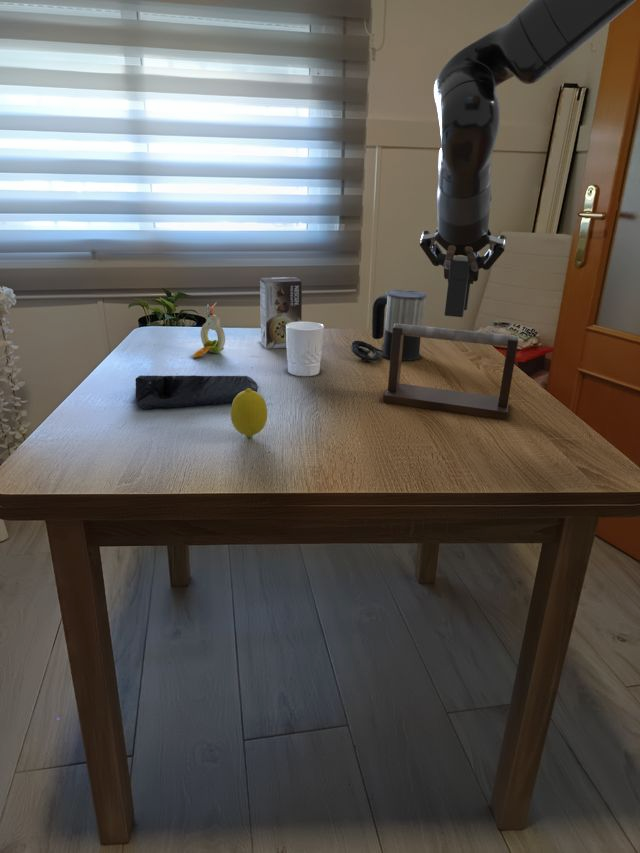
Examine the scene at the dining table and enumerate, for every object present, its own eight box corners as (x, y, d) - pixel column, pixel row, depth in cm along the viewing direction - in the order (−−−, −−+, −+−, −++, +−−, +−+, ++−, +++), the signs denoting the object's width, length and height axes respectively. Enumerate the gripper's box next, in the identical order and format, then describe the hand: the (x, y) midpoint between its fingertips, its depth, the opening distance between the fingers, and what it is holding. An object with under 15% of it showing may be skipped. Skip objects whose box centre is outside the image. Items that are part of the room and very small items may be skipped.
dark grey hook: (444, 315, 96) (450, 260, 93) (450, 307, 103) (456, 255, 100) (462, 317, 95) (469, 261, 92) (467, 309, 102) (473, 257, 99)
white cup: (288, 378, 118) (288, 330, 114) (282, 367, 125) (283, 321, 121) (325, 376, 119) (327, 329, 115) (318, 366, 126) (319, 321, 123)
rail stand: (508, 405, 107) (520, 331, 101) (506, 420, 100) (519, 341, 94) (392, 389, 113) (398, 319, 108) (382, 402, 106) (388, 327, 101)
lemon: (264, 429, 92) (264, 382, 89) (269, 443, 87) (269, 393, 84) (230, 431, 91) (228, 383, 88) (232, 445, 86) (231, 395, 83)
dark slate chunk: (260, 408, 101) (260, 383, 99) (130, 411, 97) (128, 385, 96) (255, 381, 115) (255, 358, 113) (142, 383, 111) (140, 359, 110)
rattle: (181, 352, 133) (178, 302, 129) (213, 347, 138) (211, 299, 134) (195, 359, 128) (193, 308, 123) (228, 354, 132) (227, 305, 128)
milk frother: (426, 355, 138) (433, 292, 132) (400, 370, 125) (406, 302, 120) (373, 346, 145) (377, 286, 139) (343, 359, 132) (346, 294, 126)
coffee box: (294, 341, 147) (296, 276, 140) (301, 347, 141) (303, 280, 135) (259, 342, 144) (259, 276, 138) (265, 349, 138) (265, 280, 132)
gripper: (410, 221, 84) (416, 293, 100) (509, 226, 80) (500, 300, 96) (420, 183, 87) (425, 259, 103) (516, 186, 83) (506, 264, 99)
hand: (461, 278), depth 99 cm, fingers closed on dark grey hook, 3 cm apart
